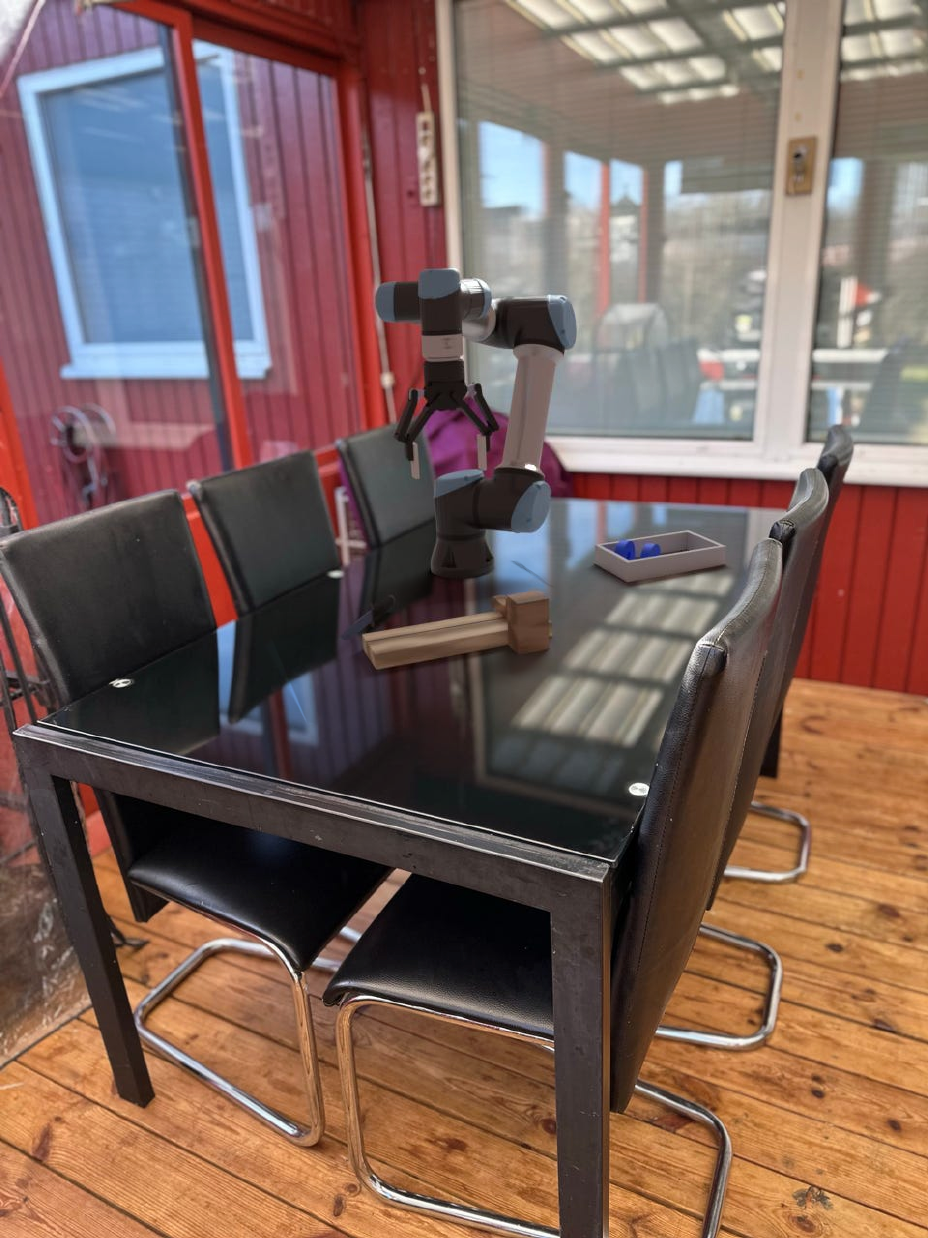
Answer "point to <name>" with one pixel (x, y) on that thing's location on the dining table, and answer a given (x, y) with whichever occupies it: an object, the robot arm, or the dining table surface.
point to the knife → (369, 617)
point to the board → (437, 639)
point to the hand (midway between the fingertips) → (449, 473)
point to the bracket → (628, 550)
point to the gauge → (525, 620)
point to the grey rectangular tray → (662, 556)
